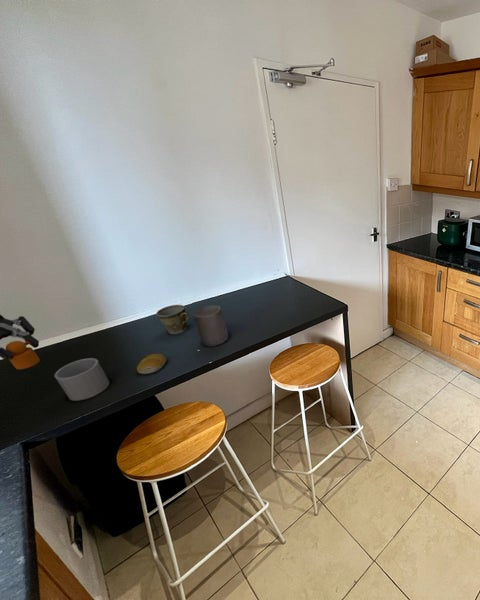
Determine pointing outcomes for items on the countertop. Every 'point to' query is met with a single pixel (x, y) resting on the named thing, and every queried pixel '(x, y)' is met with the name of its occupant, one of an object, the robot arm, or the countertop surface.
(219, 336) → the grey canister
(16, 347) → the duck
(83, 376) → the pot
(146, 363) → the bread roll
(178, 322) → the ceramic cup
